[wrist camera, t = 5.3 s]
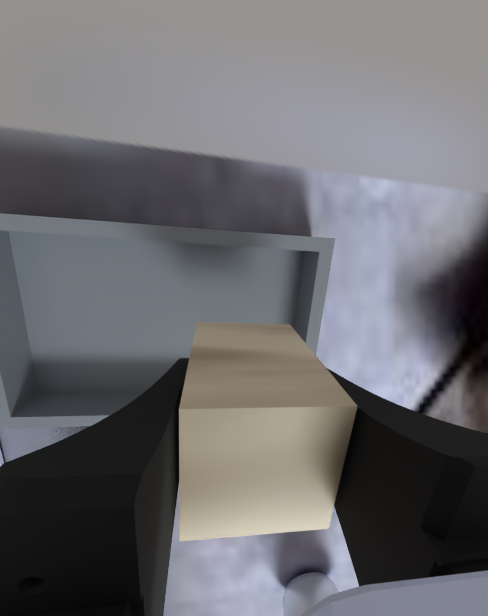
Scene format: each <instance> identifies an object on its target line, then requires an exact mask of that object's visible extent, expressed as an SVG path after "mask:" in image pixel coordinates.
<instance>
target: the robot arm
mask: <svg viewBox="0 0 488 616" xmlns="http://www.w3.org/2000/svg"><path fill="white" fill-rule="evenodd" d="M188 363H189V358H180V359H178V360H177V361H176V362H175V363H174V365H173V366H172V367H171V368H170V369H169V370H168V371H167V372H166V373H165V374H164V375H163V376H162V377H161V378H160V379H159V380H158V381H156V382H155V383H154V384H153V385H152V386H151V387H150V388H148V389H147V390H146V391H145V392H144V393H143V394H141V395H140V396H139V397H137V398H136V399H135V400H133V401H132V402H130V403H129V404H127V405H126V406H124V407H123V408H121V409H120V410H118V411H116V412H115V413H113V414H111V415H109V416H108V417H106V418H104V419H103V420H101V421H99V422H97V423H96V424H94V425H92V426H90V427H88V428H86V429H84V430H82V431H80V432H78V433H76V434H74V435H72V436H69V437H67V438H65V439H63V440H61V441H59V442H56V443H54V444H52V445H49V446H47V447H44V448H42V449H39V450H37V451H34V452H32V453H29V454H27V455H24V456H22V457H19V458H17V459H14V460H12V461H9V462H6V463H4V461H3V457H2V453H1V449H0V616H163V612H164V603H165V594H166V585H167V576H168V567H169V559H170V550H171V542H172V533H173V525H174V516H175V508H176V500H177V492H178V485H179V406H180V402H181V397H182V392H183V387H184V382H185V377H186V372H187V368H188ZM326 369H327V368H326ZM327 370H328V371H329V372H330V373H331V375H332V376H333V377H334V378H335V379H336V381H337V382H338V383H339V384H340V386H341V387H342V388H343V389H344V390H345V392H346V393H347V394H348V395H349V396H350V398H351V399H352V400H353V401H354V402H355V404H356V405H357V410H356V415H355V419H354V423H353V427H352V432H351V436H350V440H349V444H348V448H347V453H346V457H345V461H344V465H343V469H342V474H341V478H340V482H339V486H338V491H337V495H336V499H335V503H334V507H335V510H336V513H337V516H338V519H339V522H340V525H341V528H342V531H343V534H344V537H345V540H346V543H347V547H348V550H349V553H350V557H351V560H352V563H353V566H354V570H355V573H356V576H357V580H358V583H359V587H356V588H353V589H349V590H346V591H342V592H339V593H335V594H332V595H329V596H327V597H326V598H324V599H323V600H322V601H320V602H319V603H317V604H316V605H314V606H313V607H311V608H310V609H308V610H307V611H305V612H304V613H302V614H301V615H300V616H488V434H487V433H483V432H479V431H475V430H471V429H468V428H464V427H461V426H457V425H454V424H451V423H447V422H444V421H441V420H438V419H435V418H432V417H429V416H426V415H423V414H421V413H418V412H415V411H412V410H410V409H407V408H405V407H402V406H400V405H397V404H395V403H393V402H390V401H388V400H386V399H383V398H381V397H379V396H377V395H375V394H373V393H371V392H369V391H367V390H365V389H363V388H361V387H359V386H357V385H355V384H353V383H352V382H350V381H348V380H346V379H345V378H343V377H341V376H339V375H338V374H336V373H334V372H333V371H331V370H329V369H327Z"/></svg>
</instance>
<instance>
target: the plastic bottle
mask: <svg viewBox="0 0 488 616" xmlns="http://www.w3.org/2000/svg"><path fill="white" fill-rule="evenodd" d="M335 593H339V591H338V589H337V587H336V585H335V584H334V582H333V581H332V580H331V579H330V578H329V577H328V576H327V575H325V574H323V573H319V572H310V573H305V574H302V575H299V576H297V577H295V578H294V579H293V580H291V581H290V582H289V583H288V585H287V586H286V589H285V593H284V597H283V607H284V616H300V615H301V614H302V613H304V612H305V611H307V610H308V609H310V608H311V607H313V606H314V605H316V604H317V603H319V602H320V601H322V600H323V599H324V598H326V597H327V596H329V595H332V594H335Z"/></svg>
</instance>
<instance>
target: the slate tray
mask: <svg viewBox="0 0 488 616" xmlns="http://www.w3.org/2000/svg"><path fill="white" fill-rule="evenodd" d="M334 241H335V239H334V238H321V237H308V236H294V235H281V234H268V233H255V232H241V231H228V230H215V229H202V228H188V227H175V226H162V225H149V224H135V223H122V222H109V221H96V220H82V219H69V218H56V217H43V216H29V215H16V214H3V213H0V428H38V427H78V426H92V425H94V424H96V423H97V422H99V421H101V420H103V419H104V418H106V417H108V416H109V415H111V414H113V413H115V412H116V411H118V410H120V409H121V408H123V407H124V406H126V405H127V404H129V403H130V402H132V401H133V400H135V399H136V398H137V397H139V396H140V395H141V394H143V393H144V392H145V391H146V390H147V389H148V388H150V387H151V386H152V385H153V384H154V383H155V382H156V381H158V380H159V379H160V378H161V377H162V376H163V375H164V374H165V373H166V372H167V371H168V370H169V369H170V368H171V367H172V366H173V365H174V363H175V362H176V361H177V360H178V359H180V358H190V353H191V348H192V343H193V338H194V334H195V329H196V324H197V322H219V323H256V324H290V325H291V326H292V328H293V329H294V330H295V331H296V332H297V334H298V335H299V336H300V337H301V338H302V340H303V341H304V342H305V343H306V344H307V346H308V347H309V348H310V349H311V350H312V352H313V353H314V354H315V355H316V350H317V344H318V338H319V332H320V325H321V319H322V313H323V307H324V301H325V295H326V289H327V283H328V277H329V271H330V265H331V259H332V253H333V247H334Z"/></svg>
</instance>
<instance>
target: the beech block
mask: <svg viewBox="0 0 488 616" xmlns="http://www.w3.org/2000/svg"><path fill="white" fill-rule="evenodd" d="M356 410H357V405H356V404H355V402H354V401H353V400H352V399H351V398H350V396H349V395H348V394H347V393H346V392H345V390H344V389H343V388H342V387H341V386H340V384H339V383H338V382H337V381H336V379H335V378H334V377H333V376H332V375H331V373H330V372H329V371H328V370H327V369H326V367H325V366H324V365H323V364H322V363H321V361H320V360H319V359H318V358H317V357H316V355H315V354H314V353H313V352H312V350H311V349H310V348H309V347H308V346H307V344H306V343H305V342H304V341H303V340H302V338H301V337H300V336H299V335H298V334H297V332H296V331H295V330H294V329H293V328H292V326H291V325H290V324H256V323H219V322H197V324H196V329H195V334H194V338H193V343H192V348H191V353H190V358H189V363H188V368H187V372H186V377H185V382H184V387H183V392H182V397H181V402H180V406H179V509H180V541H189V540H201V539H213V538H225V537H236V536H248V535H260V534H272V533H283V532H295V531H307V530H319V529H329V524H330V520H331V516H332V512H333V507H334V503H335V499H336V495H337V491H338V486H339V482H340V478H341V474H342V469H343V465H344V461H345V457H346V453H347V448H348V444H349V440H350V436H351V432H352V427H353V423H354V419H355V415H356Z"/></svg>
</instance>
